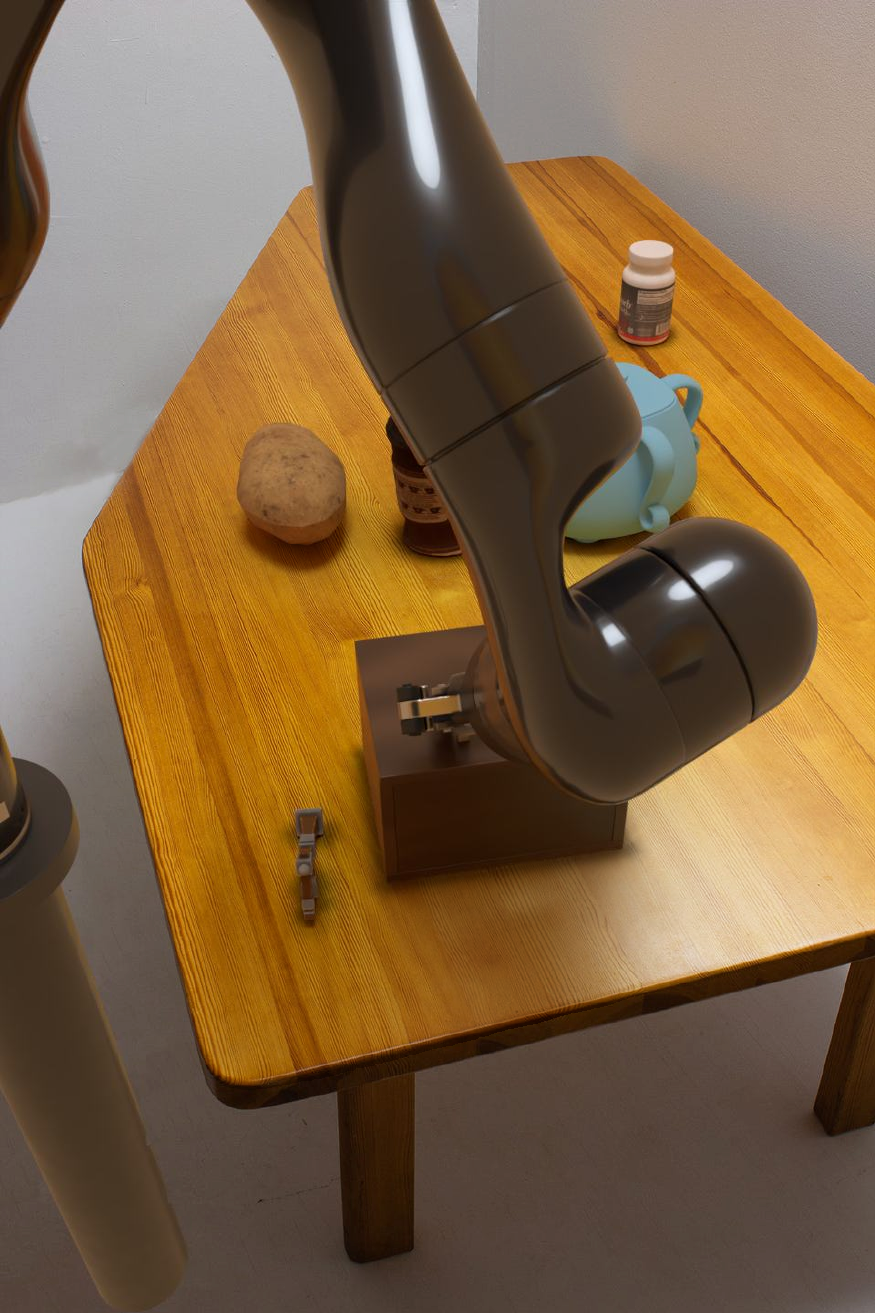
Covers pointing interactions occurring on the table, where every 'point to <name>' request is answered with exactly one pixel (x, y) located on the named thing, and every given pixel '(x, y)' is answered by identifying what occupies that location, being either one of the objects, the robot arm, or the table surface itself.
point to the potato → (291, 484)
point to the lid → (430, 665)
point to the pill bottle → (647, 293)
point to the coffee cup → (419, 501)
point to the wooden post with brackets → (308, 855)
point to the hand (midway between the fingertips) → (498, 702)
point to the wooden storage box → (481, 819)
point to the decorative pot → (647, 462)
